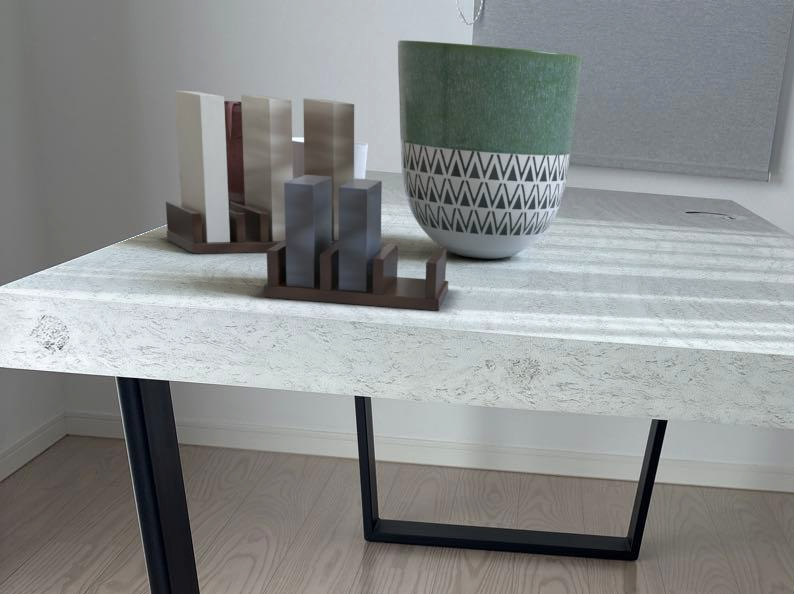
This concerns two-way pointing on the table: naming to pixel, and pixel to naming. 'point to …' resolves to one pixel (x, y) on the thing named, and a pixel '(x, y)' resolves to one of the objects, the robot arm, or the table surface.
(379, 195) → the desk organizer with blocks
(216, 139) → the white book
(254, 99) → the brown book rack
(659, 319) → the table surface
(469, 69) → the planter
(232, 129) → the dark red upright block
